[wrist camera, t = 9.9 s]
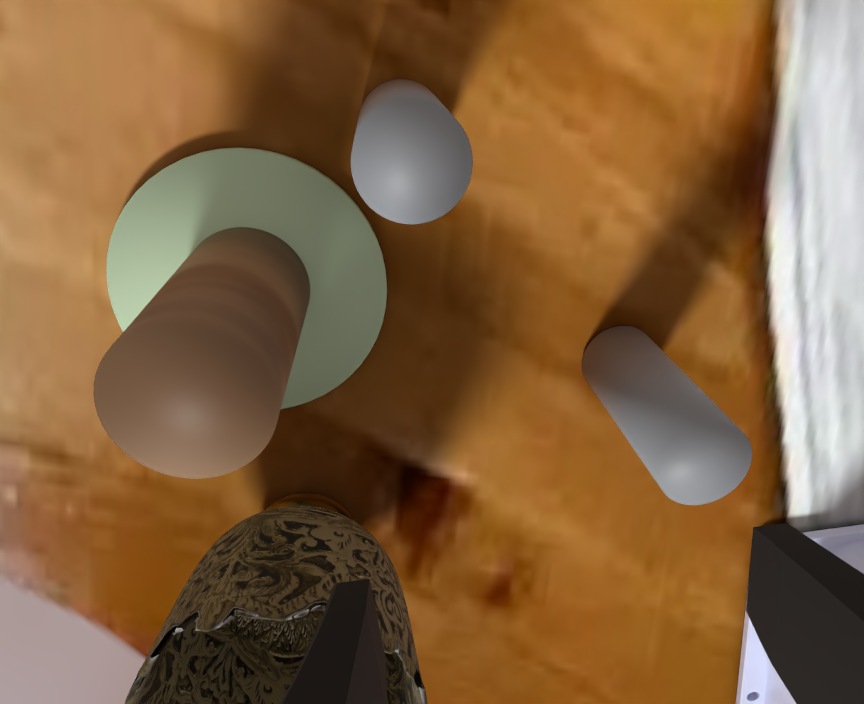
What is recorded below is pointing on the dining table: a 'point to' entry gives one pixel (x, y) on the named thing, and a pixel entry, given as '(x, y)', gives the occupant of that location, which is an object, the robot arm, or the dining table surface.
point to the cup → (273, 609)
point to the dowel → (207, 358)
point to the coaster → (272, 212)
